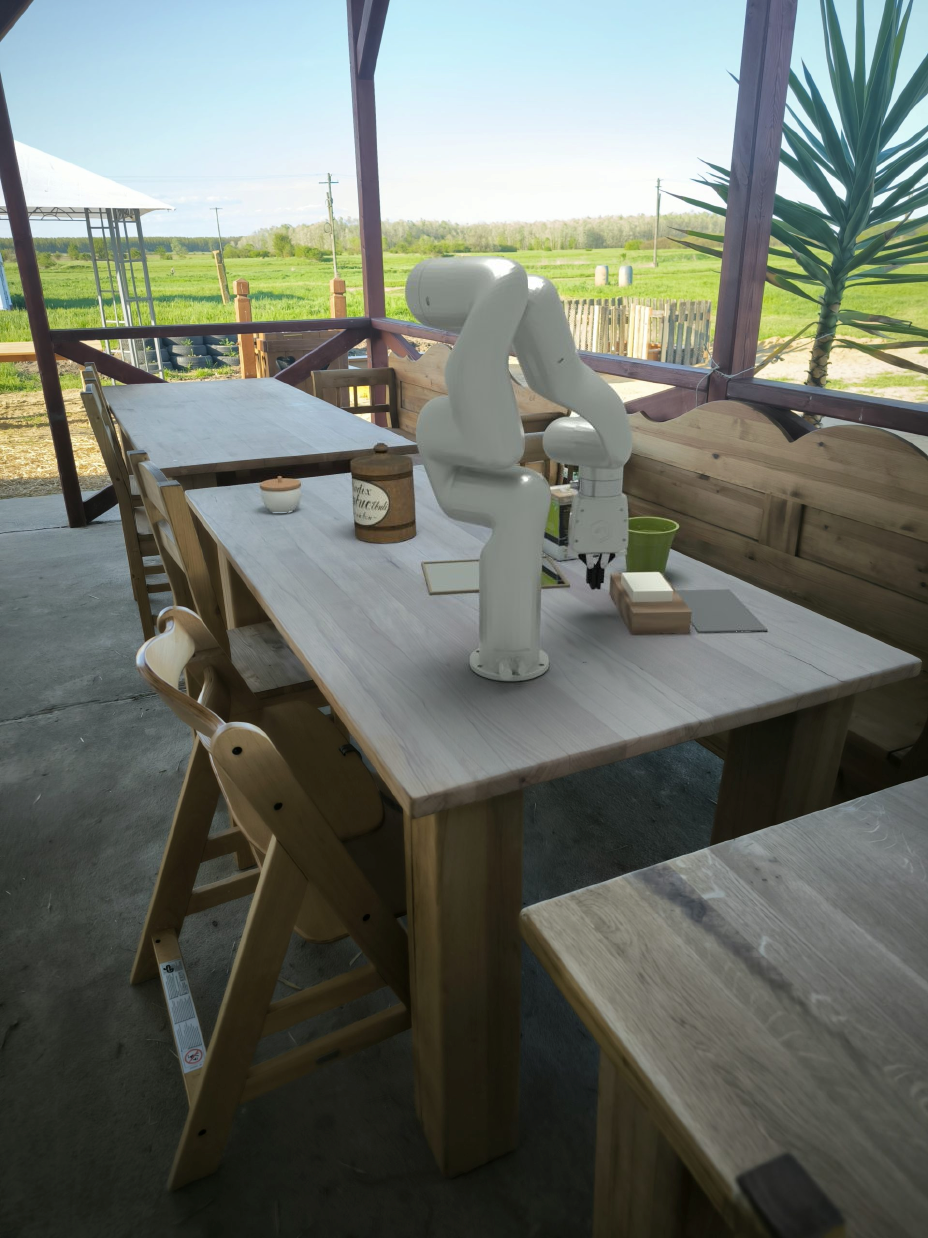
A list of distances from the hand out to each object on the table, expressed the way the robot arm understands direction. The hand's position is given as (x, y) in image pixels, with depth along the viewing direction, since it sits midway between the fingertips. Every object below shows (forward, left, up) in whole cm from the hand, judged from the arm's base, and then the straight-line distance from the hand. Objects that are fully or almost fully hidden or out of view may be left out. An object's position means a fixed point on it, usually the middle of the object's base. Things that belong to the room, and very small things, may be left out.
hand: (594, 586), depth 147 cm
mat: (0, -22, -5) cm, 23 cm away
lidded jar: (+77, +70, -5) cm, 104 cm away
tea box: (+37, -3, -5) cm, 38 cm away
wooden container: (+53, +41, -5) cm, 67 cm away
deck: (0, -10, -5) cm, 11 cm away
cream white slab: (0, -9, -1) cm, 9 cm away
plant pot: (+19, -14, -5) cm, 24 cm away
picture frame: (+22, +17, -6) cm, 28 cm away
